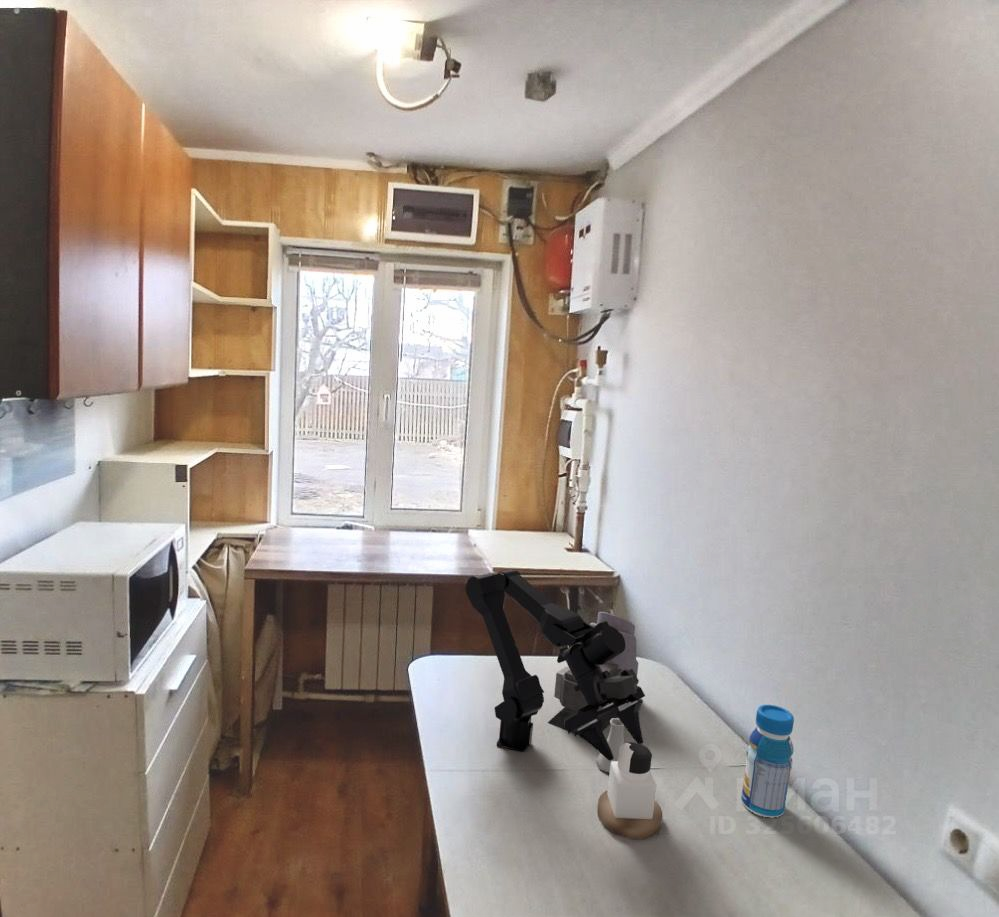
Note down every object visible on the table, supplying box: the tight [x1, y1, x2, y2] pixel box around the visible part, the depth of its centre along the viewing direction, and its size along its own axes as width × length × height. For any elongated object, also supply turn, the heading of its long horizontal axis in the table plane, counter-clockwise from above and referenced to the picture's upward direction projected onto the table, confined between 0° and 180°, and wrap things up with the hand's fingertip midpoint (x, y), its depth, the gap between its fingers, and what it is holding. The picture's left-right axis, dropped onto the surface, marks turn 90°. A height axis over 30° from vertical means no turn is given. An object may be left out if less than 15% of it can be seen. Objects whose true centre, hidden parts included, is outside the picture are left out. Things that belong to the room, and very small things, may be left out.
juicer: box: [547, 611, 643, 735], centre depth 168 cm, size 30×16×24 cm, turn 146°
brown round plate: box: [596, 789, 663, 840], centre depth 128 cm, size 12×12×2 cm
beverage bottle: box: [740, 704, 795, 819], centre depth 134 cm, size 8×8×20 cm
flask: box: [595, 718, 625, 774], centre depth 144 cm, size 7×7×10 cm
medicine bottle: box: [607, 741, 657, 819], centre depth 128 cm, size 7×7×12 cm
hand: (626, 751), depth 128 cm, fingers open, 9 cm apart
